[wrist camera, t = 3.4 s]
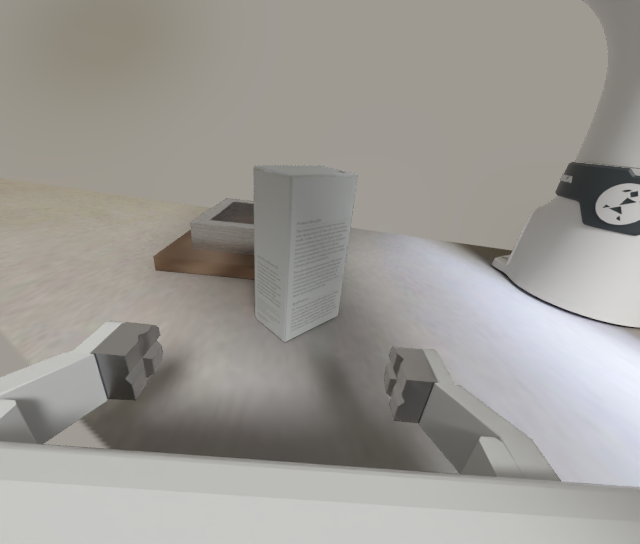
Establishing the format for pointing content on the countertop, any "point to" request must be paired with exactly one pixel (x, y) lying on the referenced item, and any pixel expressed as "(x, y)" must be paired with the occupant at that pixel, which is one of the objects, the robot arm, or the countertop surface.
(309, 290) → the skincare box
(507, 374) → the countertop surface
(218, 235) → the socket board
